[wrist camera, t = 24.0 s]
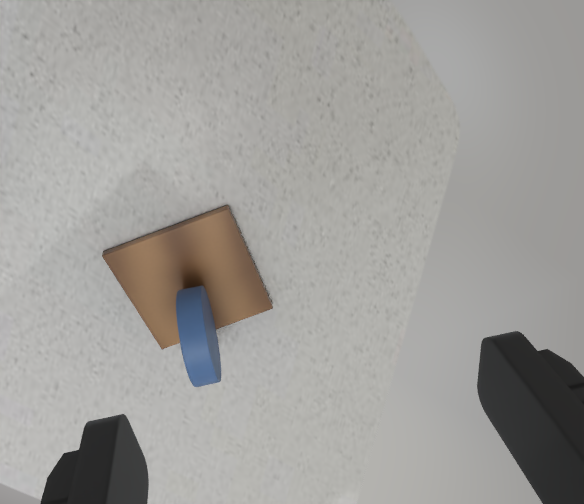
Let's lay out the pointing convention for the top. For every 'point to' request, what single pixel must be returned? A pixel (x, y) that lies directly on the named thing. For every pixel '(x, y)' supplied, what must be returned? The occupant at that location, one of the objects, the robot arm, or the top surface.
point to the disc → (198, 336)
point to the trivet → (190, 272)
